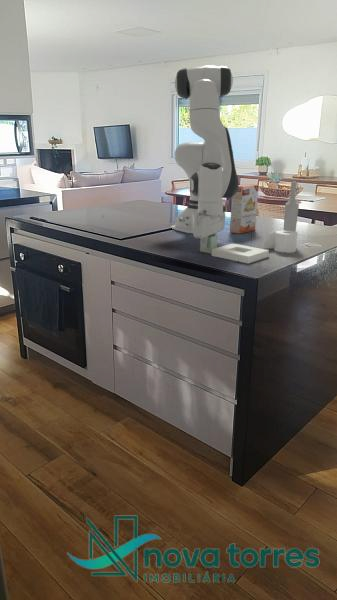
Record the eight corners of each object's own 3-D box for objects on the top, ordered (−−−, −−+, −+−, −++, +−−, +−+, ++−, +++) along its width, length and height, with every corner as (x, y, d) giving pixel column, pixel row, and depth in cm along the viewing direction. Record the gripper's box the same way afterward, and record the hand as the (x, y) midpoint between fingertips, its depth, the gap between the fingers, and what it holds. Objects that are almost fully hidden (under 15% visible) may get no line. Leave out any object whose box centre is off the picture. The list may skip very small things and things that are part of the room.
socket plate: (211, 255, 164) (211, 249, 163) (232, 249, 173) (232, 243, 172) (248, 263, 153) (248, 256, 153) (268, 256, 162) (268, 250, 161)
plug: (200, 251, 170) (200, 235, 168) (206, 249, 173) (207, 234, 171) (210, 253, 167) (211, 237, 165) (216, 251, 170) (217, 236, 168)
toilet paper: (263, 248, 175) (264, 231, 173) (290, 247, 177) (291, 230, 175) (271, 253, 167) (273, 235, 165) (299, 252, 170) (301, 234, 167)
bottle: (289, 247, 176) (295, 182, 168) (278, 245, 180) (284, 181, 172) (297, 246, 179) (304, 181, 171) (287, 243, 183) (293, 180, 175)
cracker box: (240, 234, 200) (243, 186, 193) (229, 232, 204) (231, 185, 197) (256, 230, 210) (259, 184, 203) (245, 228, 214) (247, 183, 207)
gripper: (205, 213, 155) (204, 252, 159) (228, 206, 171) (226, 241, 176) (189, 212, 158) (188, 250, 162) (213, 205, 174) (212, 240, 179)
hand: (208, 245), depth 169 cm, fingers closed on plug, 4 cm apart
